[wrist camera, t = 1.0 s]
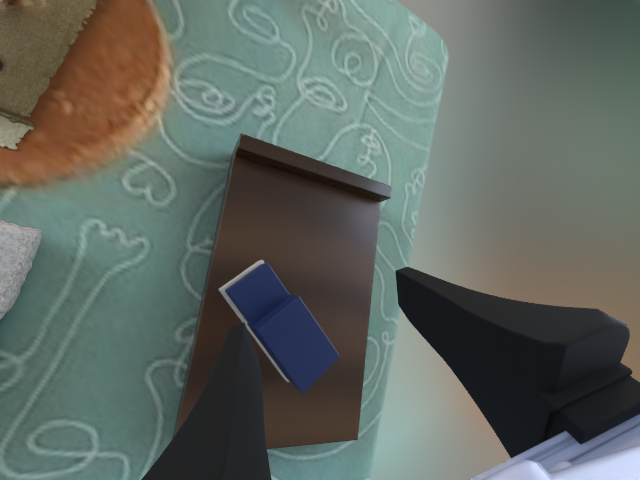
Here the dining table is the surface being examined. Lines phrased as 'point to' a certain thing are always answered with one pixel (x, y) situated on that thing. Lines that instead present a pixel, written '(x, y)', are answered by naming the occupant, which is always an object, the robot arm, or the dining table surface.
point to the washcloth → (15, 260)
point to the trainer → (280, 325)
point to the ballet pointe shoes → (32, 55)
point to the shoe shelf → (294, 282)
